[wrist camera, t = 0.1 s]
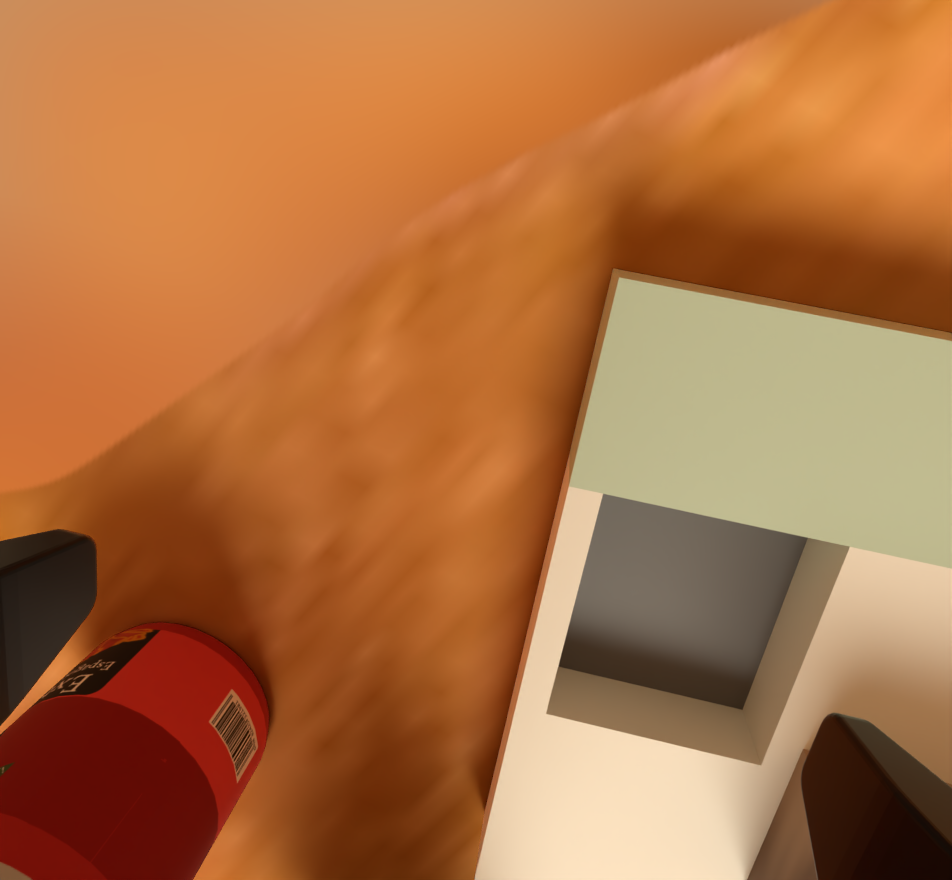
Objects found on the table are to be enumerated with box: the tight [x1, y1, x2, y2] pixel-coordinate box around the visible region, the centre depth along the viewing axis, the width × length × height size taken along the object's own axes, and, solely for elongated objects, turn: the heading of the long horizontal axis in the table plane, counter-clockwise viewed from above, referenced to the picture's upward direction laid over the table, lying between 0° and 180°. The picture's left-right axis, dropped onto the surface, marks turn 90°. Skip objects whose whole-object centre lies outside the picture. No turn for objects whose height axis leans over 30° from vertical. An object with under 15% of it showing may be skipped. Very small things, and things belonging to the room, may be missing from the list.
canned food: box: [0, 622, 269, 880], centre depth 23 cm, size 8×8×11 cm
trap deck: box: [474, 268, 952, 880], centre depth 22 cm, size 22×24×3 cm
